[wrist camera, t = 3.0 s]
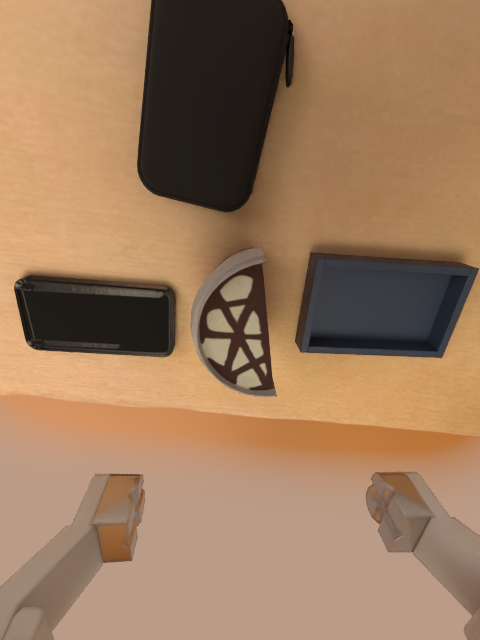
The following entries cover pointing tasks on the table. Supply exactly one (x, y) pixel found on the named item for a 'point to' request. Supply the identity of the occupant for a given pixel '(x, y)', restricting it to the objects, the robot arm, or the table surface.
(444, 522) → the robot arm
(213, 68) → the carrying case
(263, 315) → the food container
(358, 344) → the tray
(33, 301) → the phone
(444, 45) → the table surface
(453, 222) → the table surface
